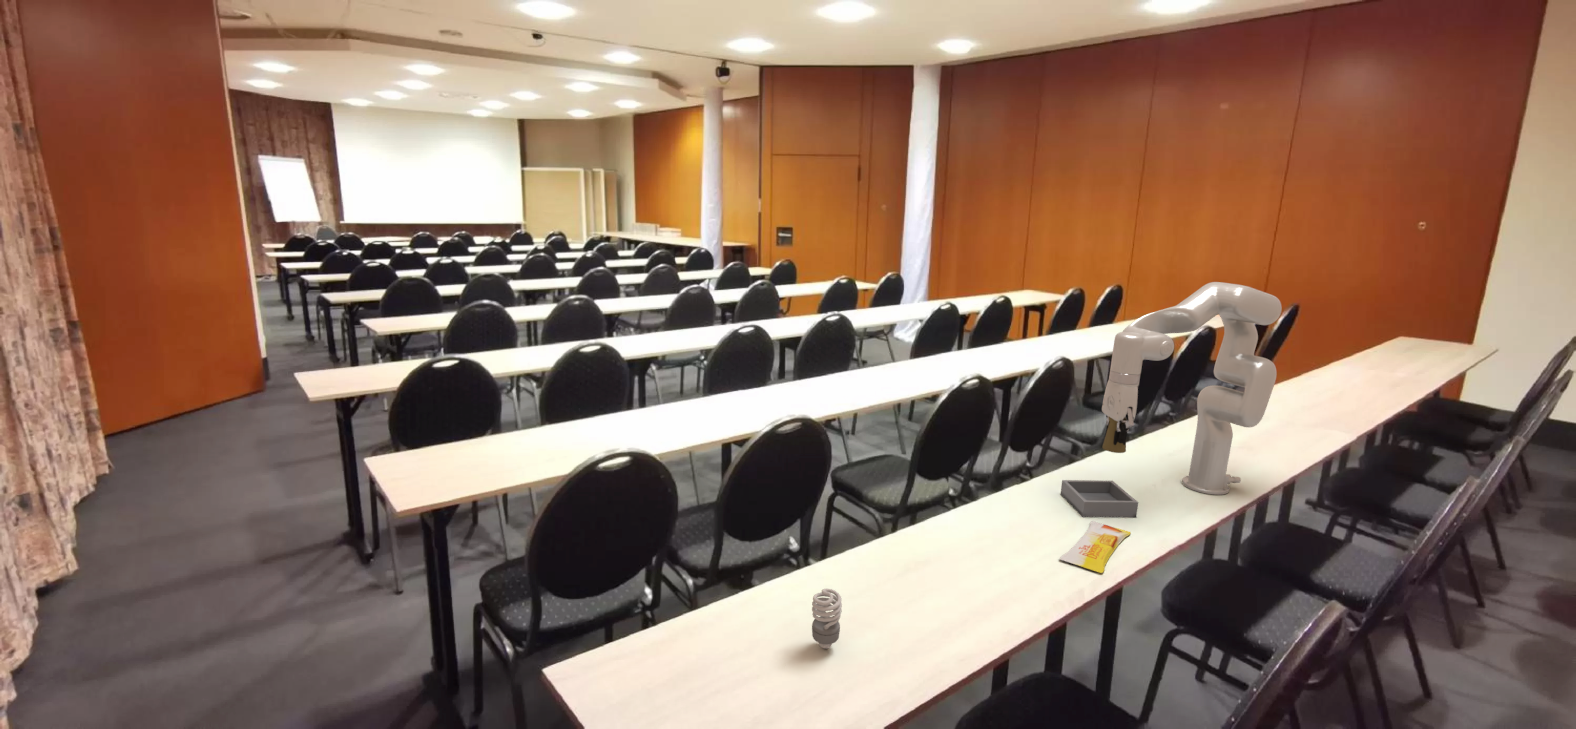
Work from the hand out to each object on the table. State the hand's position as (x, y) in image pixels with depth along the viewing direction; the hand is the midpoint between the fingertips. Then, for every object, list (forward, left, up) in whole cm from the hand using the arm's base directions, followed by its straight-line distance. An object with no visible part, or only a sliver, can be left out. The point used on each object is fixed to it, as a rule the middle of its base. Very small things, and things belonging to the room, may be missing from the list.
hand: (1115, 441), depth 198 cm
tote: (+2, -1, -20) cm, 20 cm away
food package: (+14, +23, -20) cm, 34 cm away
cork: (0, 0, -2) cm, 2 cm away
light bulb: (+85, +64, -20) cm, 108 cm away
